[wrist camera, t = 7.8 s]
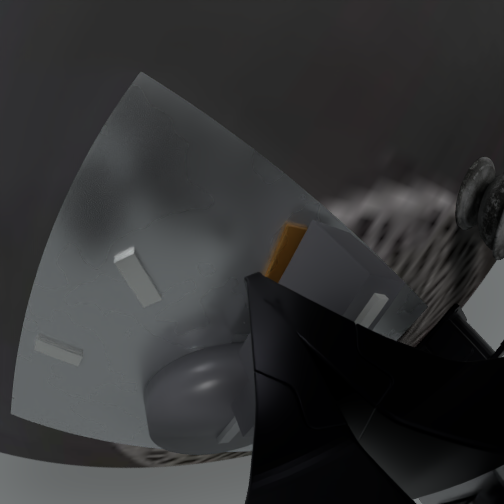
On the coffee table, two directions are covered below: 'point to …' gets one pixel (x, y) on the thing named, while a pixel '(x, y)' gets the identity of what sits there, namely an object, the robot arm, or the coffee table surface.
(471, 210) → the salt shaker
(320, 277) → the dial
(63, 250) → the panel
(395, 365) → the robot arm
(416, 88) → the coffee table surface
